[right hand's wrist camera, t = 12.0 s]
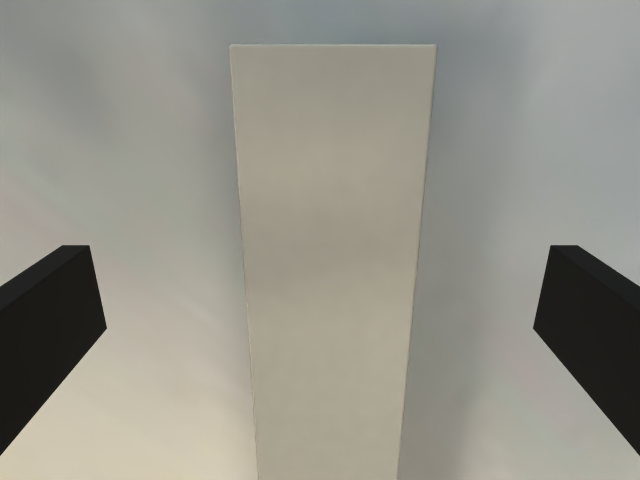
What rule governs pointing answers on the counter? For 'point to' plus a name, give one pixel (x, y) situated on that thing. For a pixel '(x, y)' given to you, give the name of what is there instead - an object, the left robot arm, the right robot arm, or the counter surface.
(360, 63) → the beam
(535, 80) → the counter surface
